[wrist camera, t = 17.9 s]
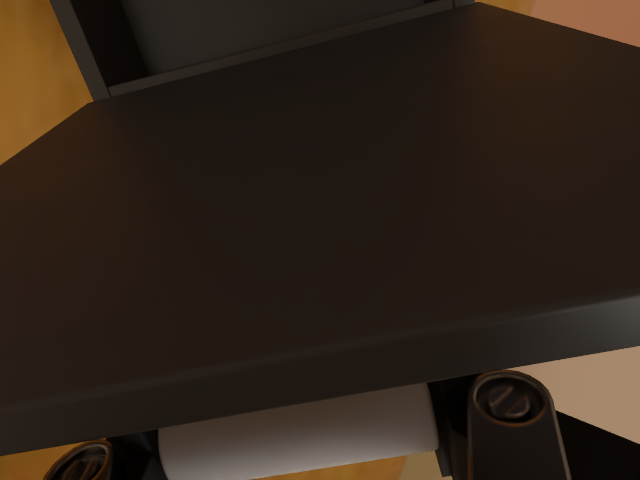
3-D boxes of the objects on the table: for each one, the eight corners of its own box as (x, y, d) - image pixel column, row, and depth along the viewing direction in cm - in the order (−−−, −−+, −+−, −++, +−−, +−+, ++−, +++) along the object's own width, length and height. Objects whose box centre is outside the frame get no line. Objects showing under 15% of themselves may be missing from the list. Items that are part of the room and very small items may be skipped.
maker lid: (-475, 498, 5) (-110, 629, 8) (1177, 193, 3) (848, 503, 6) (87, 102, 18) (145, 209, 20) (479, 1, 16) (481, 132, 19)
